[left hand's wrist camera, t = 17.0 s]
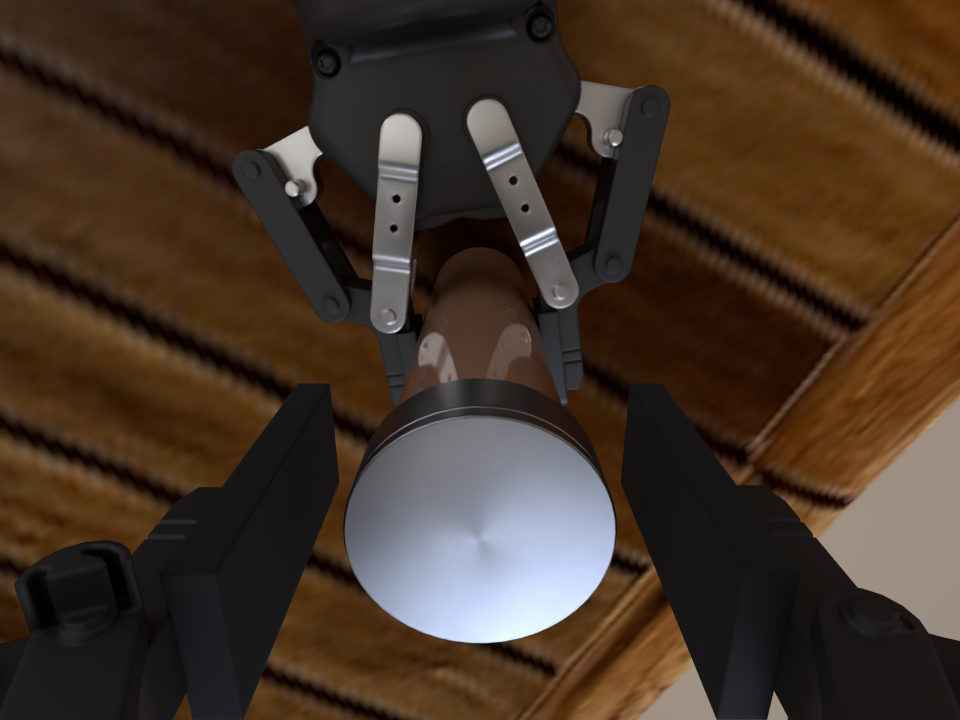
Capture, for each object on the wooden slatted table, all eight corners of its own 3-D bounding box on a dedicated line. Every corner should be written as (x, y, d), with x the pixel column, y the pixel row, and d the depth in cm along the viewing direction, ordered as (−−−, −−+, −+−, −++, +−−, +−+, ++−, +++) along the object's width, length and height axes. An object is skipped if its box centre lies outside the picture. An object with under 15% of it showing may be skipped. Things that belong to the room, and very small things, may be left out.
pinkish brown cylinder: (424, 321, 28) (349, 575, 12) (448, 235, 27) (399, 390, 10) (509, 345, 29) (548, 622, 12) (537, 262, 27) (623, 450, 11)
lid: (649, 479, 12) (675, 530, 11) (487, 619, 14) (489, 683, 12) (470, 326, 11) (468, 357, 10) (312, 495, 12) (287, 547, 11)
